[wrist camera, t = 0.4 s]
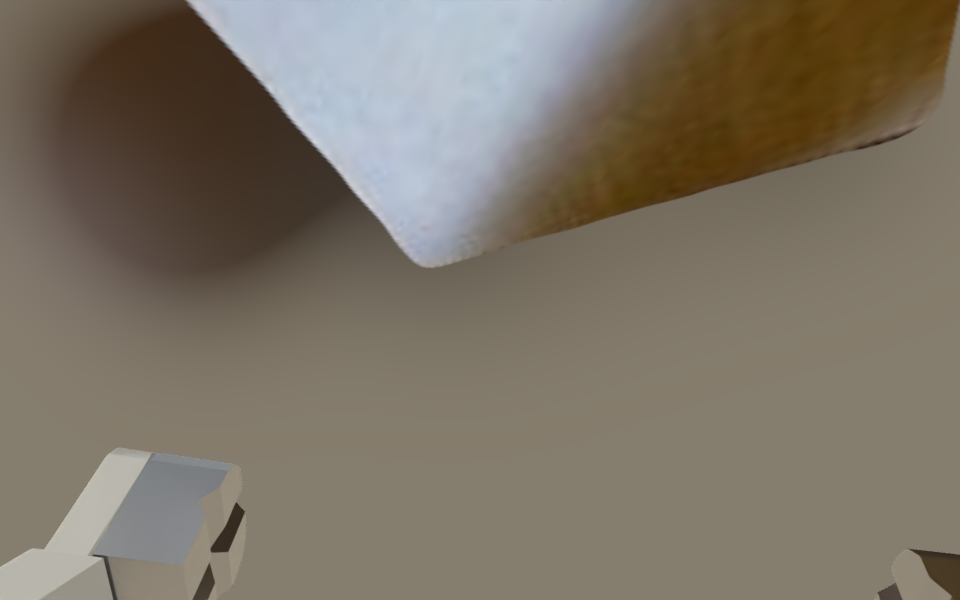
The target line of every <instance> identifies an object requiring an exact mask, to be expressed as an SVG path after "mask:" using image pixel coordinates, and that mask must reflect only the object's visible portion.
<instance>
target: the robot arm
mask: <svg viewBox="0 0 960 600" xmlns="http://www.w3.org/2000/svg"><path fill="white" fill-rule="evenodd" d="M242 487H243V485H242V479H241V471H240V467H239V466H237V465H234V464H228V463H221V462H215V461H208V460H202V459H195V458H189V457H182V456H176V455H169V454H162V453H151V452H145V451H138V450H131V449H125V448H117V449H115V450H114V451H112V452H111V453H110V454H108V455H107V456H106V457H105V459H104V460H103V462H102V463H101V465H100V466H99V468H98V469H97V471H96V472H95V474H94V475H93V477H92V478H91V480H90V481H89V483H88V484H87V486H86V487H85V489H84V491H83V492H82V493H81V495H80V496H79V498H78V499H77V501H76V502H75V504H74V505H73V507H72V509H71V510H70V512H69V513H68V515H67V516H66V518H65V519H64V521H63V522H62V524H61V525H60V527H59V528H58V530H57V531H56V533H55V534H54V536H53V537H52V539H51V540H50V542H49V543H48V545H47V546H46V548H45V549H44V550H42V549H33V548H32V549H30V550H28V551H27V552H25V553H23V554H22V555H20V556H18V557H17V558H15V559H13V560H11V561H10V562H8V563H6V564H5V565H3V566H1V567H0V600H217V597H219V596H220V595H221V594H223V593H224V592H226V591H227V590H228V589H230V588H231V587H232V586H233V583H234V581H235V578H236V575H237V573H238V570H239V568H240V564H241V559H242V555H243V551H244V546H245V540H246V516H245V511H244V510H243V509H242V508H241V507H240V506H239V505H238V503H237V502H236V501H237V498H238V496H239V494H240V491H241V489H242ZM891 571H892V574H893V577H894V579H895V582H896V583H894V584H892V585H890V586H889V587H887V588H885V589H883V590H881V591H879V592H878V593H877V595H876V597H875V599H874V600H960V555H959V554H951V553H943V552H933V551H925V550H916V549H906V550H905V551H903V552H902V553H900V554H899V555H898V556H897V558H896V560H895V562H894V563H893V565H892V567H891Z"/></svg>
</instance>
